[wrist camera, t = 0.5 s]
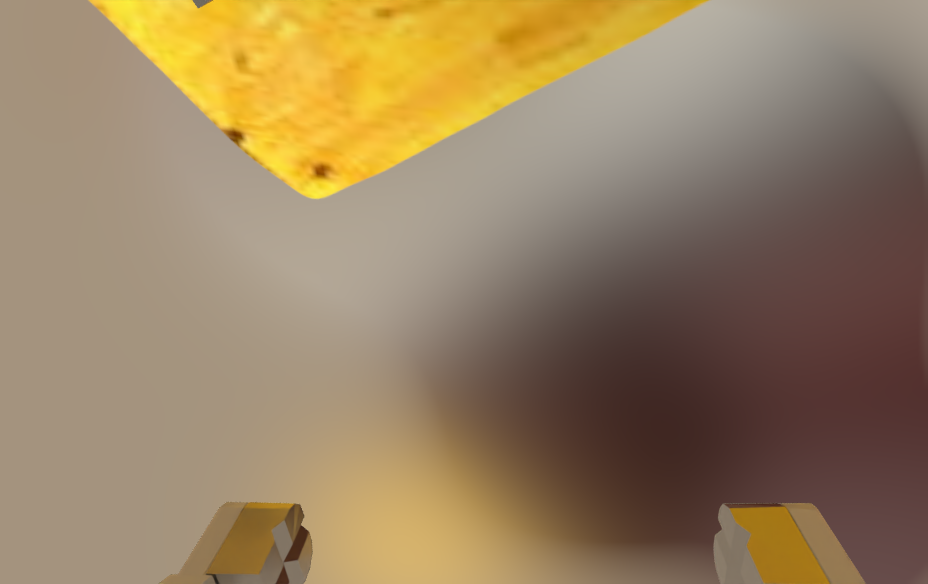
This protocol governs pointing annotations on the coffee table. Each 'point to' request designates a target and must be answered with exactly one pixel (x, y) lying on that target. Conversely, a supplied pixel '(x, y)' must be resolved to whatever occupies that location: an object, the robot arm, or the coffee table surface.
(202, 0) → the end cap
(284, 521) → the robot arm
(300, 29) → the coffee table surface
